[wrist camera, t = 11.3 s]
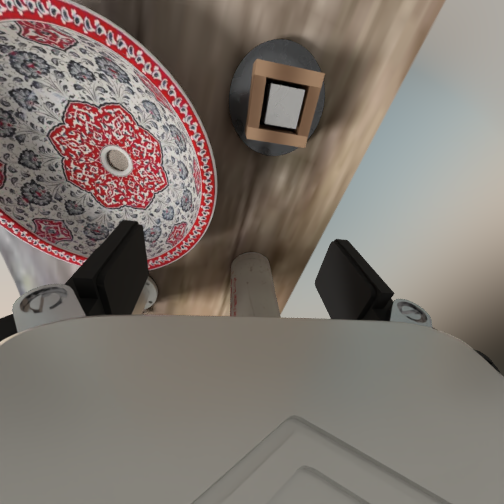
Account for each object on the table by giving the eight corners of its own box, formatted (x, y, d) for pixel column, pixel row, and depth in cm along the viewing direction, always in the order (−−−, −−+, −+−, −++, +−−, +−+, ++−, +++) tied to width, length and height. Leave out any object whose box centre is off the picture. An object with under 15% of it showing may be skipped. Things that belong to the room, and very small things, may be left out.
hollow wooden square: (311, 75, 26) (325, 73, 22) (295, 140, 30) (304, 148, 26) (253, 63, 25) (256, 58, 21) (244, 132, 29) (246, 138, 25)
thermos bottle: (226, 277, 46) (219, 454, 24) (237, 247, 42) (240, 429, 20) (262, 284, 48) (286, 454, 26) (275, 256, 44) (319, 432, 21)
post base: (305, 158, 33) (318, 171, 28) (225, 146, 32) (223, 157, 26) (334, 53, 26) (359, 44, 21) (234, 30, 25) (234, 14, 19)
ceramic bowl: (-10, 192, 33) (-68, 217, 27) (-13, -78, 20) (-134, -160, 13) (177, 266, 44) (167, 296, 37) (258, 124, 30) (265, 133, 24)
